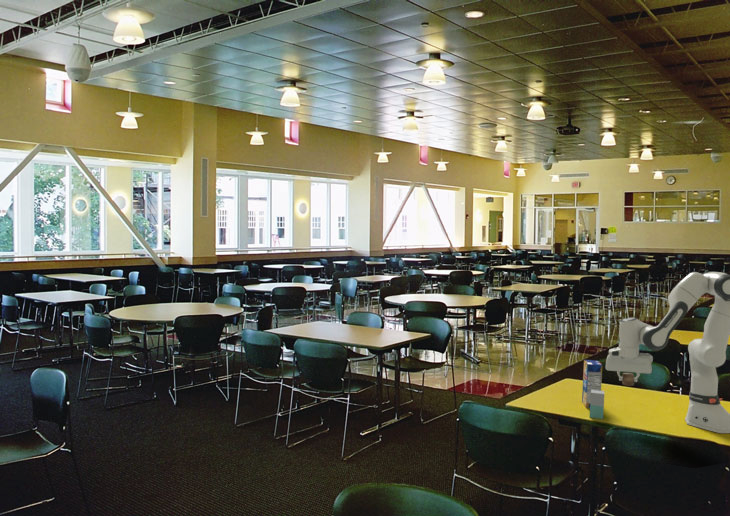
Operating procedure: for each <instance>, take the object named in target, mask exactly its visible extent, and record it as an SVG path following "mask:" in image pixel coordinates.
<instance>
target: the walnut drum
mask: <svg viewBox="0 0 730 516" xmlns="http://www.w3.org/2000/svg"><path fill="white" fill-rule="evenodd" d="M621 376H622V377H623V381H622V382H621V383H622V385H623V386H625V387H626V386H627V387H628V386H629V387H633V386H634V384H635V382H634V377H635V374H634V373H632V372H623V373H622V375H621Z"/></svg>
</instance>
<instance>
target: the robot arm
mask: <svg viewBox="0 0 730 516" xmlns="http://www.w3.org/2000/svg"><path fill="white" fill-rule="evenodd" d="M704 294H710V295H711V296H714V302H713V306H712V308H711V309H710V312H709V313H708V316H707V318H706V320H705V323H704V325H703V334H702V338H694V339H692V341H690V342H689V344H688V346H687V351H688V354H689V365H690V374H691V378H690V390H689V395H688V399H689V404H688V408H687V409H688V410H687V413H686V416H685V419H684V420H685V422H686V425H690V426H692V427H695V428H699V429H702V430H707V431H711V432H714V433H718V434H730V413H729V411H727V409H725V408H724V406H723V405H722V404H721V401H722V402H723V398H719V395H718V388H719V387H718V385H719V377H718V373H717V368H719V367H721V366H723V365H724V364H725V362H726V360H727V354H726V352H727V348H728V343H729V338H730V274H727V273H726V272H719V271H713V270H711V271H710V270H709V271H705V272H703V273H700V272H697V271H692V272H690V273H689V274H687V275H686V276H685V277H684V278H683V279H681V280H680V281H679V282H678V283H677V284H676V285H675V286H674V287H673V288H672V290H671V291H670V293H669V295H668V297H667V302H668V305H669V309H668V312H667V313H666V315H665V316H664V317H663V318H662V319H661V321H660V322H659V323H658V325H656V326H653V325H651V324H648V323H645V322H643V321H641V320H640V319H638V318H636V317H626V318H623V319H622V320H621V321H620V323H619V327H618V330H619V331H618V338H619V342H618V347H613V348H610V349H609V350H608V354H607V357H606V360H605V370H606V371H612V372H616V373H617V376H618V378H619V379H618V380H619V381H623V377H622V376H623V375H620V374H621V372H623V373H636V376H634V383H637V382H638V379H639V377H640V376H641V374H651V373H652V372H653V368H652V363H653V360H654V357H653V355H652V354H650V353H648V352H646V353H644V352H640V345H644V346H645V347H646V348H647V349H648V350H650V351H661V350H663V349H664V348H665V347H666V346H667V344H668V343H669V339H670V337H671V334H672V333H673V332H674V331H675V329H676V328H677V327H678V325H679V324H680V323H681V322H682V320H683V319H684V317H685V316H686V314H688V312H689V311H690V309H691V308H692V307H693V306H694V305H695V304H696V303H697V301H698V300H699V299H700V298H701V297H702V296H703V295H704Z"/></svg>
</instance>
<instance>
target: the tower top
mask: <svg viewBox="0 0 730 516" xmlns="http://www.w3.org/2000/svg"><path fill="white" fill-rule="evenodd" d="M590 405H595V406H603V407H605V391H604V390H601V391H599V390H591V401H590Z"/></svg>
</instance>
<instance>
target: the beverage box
mask: <svg viewBox="0 0 730 516" xmlns="http://www.w3.org/2000/svg"><path fill="white" fill-rule="evenodd" d="M582 373H583V375H582V392H581V393H582V395H581V403H582V404H583V406H585V408H589V409H590V401H591V390H599V391H602V381H603V380H602V379H603V364H602V363H601V362H600V361H599V360H595V359H593V360H592V359H583V372H582Z"/></svg>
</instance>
